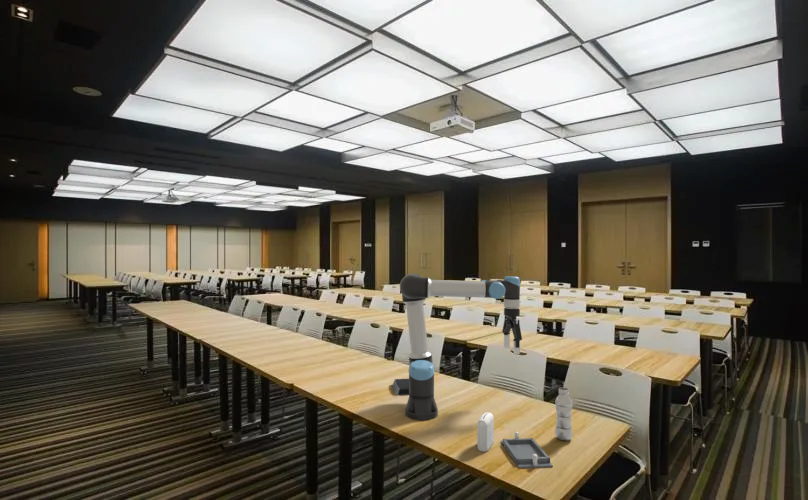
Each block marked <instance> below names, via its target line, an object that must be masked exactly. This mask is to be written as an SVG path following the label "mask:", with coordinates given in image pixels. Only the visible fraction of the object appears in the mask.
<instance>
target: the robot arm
mask: <svg viewBox="0 0 808 500" xmlns="http://www.w3.org/2000/svg"><path fill="white" fill-rule="evenodd" d="M399 291H400V294H401V298H402V303H403V304H404V305H405V306H406V307H405V308H406V317H407V325H408V336H409V343H410V354H409V355H408V360H409V361H408V363H409V366H408V379H409V395H408V399H407V402H406V405H405V409H404V411H405V412H404V414H405V416H406V417H407V418H409V419H412V420H418V421H428V420H432V419H435V418H436V417H437V416H439V415H438V414H439V412H438V411H439V410H438V409H439V408H438V406H437V402H436V400H435V366H434V363H433V354H432V352H430V350H429V344H428V337H427V328H426V327H427V326H426V319H425V318H426V317H425V309H424V303H425V301H426V299H429V298H430V297H454V298H455V297H456V298H457V297H458V298H485V299H494V300H495V299H496V300H497V299H498V300H499V299H502V298H503V315H504V321H503V325H502V329H501V330H502V333H503V349H510V345H511V344H510V340H511V339H510V337H511V336H510V335H511V333H512V335H513V340H512V341H513V355H520V353H521V352H520V349H521V348H520V347H521V343H520V341H523V337H522V331H521V325H520V319H517V317H520V316H521V314H520V313H521V312H520V311H521V310H520V306H521V281H520V277H518V276H513V275H512V276H504V278H503V280H498V279H494V280H493V279H482V280H478V281H477V280H446V279H445V280H444V279H431V278H430V277H424V276H423V277H422V276H421V275H419V274H417V273H408V274H405V276H404V277H402V279H401V280H400V283H399ZM511 331H512V332H511Z"/></svg>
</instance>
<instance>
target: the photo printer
mask: <svg viewBox="0 0 808 500" xmlns="http://www.w3.org/2000/svg"><path fill="white" fill-rule="evenodd" d="M494 420H495V419H494V415H493V414H492V413H491V412H488V411H487V412H486V411H485V412H484V413H482V415H480V416H479V418H478V421H477V433H476V434H477V441H476V442H477V450H478V451H479V452H482V453H484V452H488V451H489V449H491V447H492V446H493V444H494V439H495V437H494V433H495V431H494V425H495V424H494V423H495V422H494Z"/></svg>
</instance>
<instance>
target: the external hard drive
mask: <svg viewBox="0 0 808 500" xmlns="http://www.w3.org/2000/svg"><path fill="white" fill-rule="evenodd" d="M392 389H393V392H394V391H395V392H394V393H395V395H396V394H397V395H401V396H409V378H395V379H394V380H393V383H392ZM397 395H396V396H397Z"/></svg>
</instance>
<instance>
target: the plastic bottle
mask: <svg viewBox="0 0 808 500" xmlns="http://www.w3.org/2000/svg"><path fill="white" fill-rule="evenodd" d="M569 391H570V389H569V388H567V387H559V388H558V395H557V396H556V398H555V402H554V403H555V409H556V424H555V429H554V434H555V437H556V439H558V440H561V441H571V439H572V438H573V433H574V432H573V428H572V413H573V412H572V411H573V405H574V404H573V400H572V398H571V397H570V396H569V395H570V392H569Z"/></svg>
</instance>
